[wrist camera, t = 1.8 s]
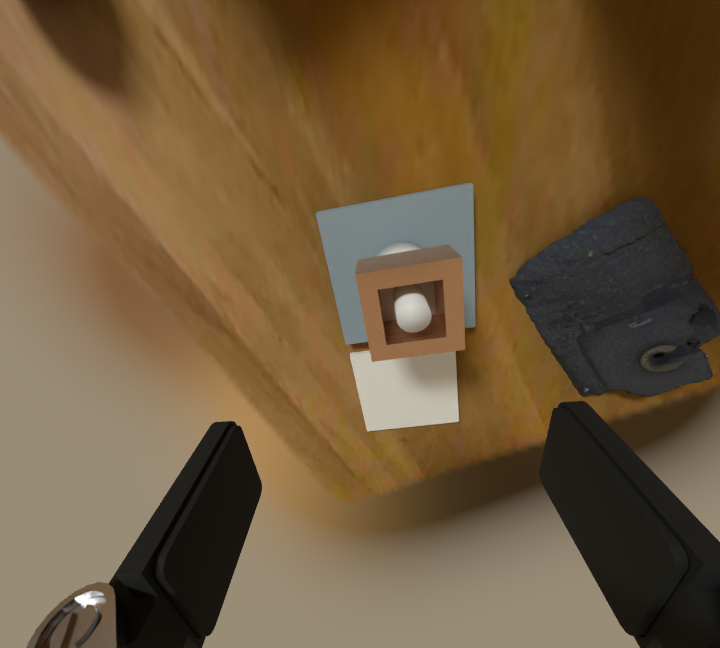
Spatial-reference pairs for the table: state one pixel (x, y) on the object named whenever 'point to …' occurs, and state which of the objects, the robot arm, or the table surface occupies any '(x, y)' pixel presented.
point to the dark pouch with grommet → (621, 304)
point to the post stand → (393, 235)
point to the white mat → (407, 390)
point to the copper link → (407, 270)
